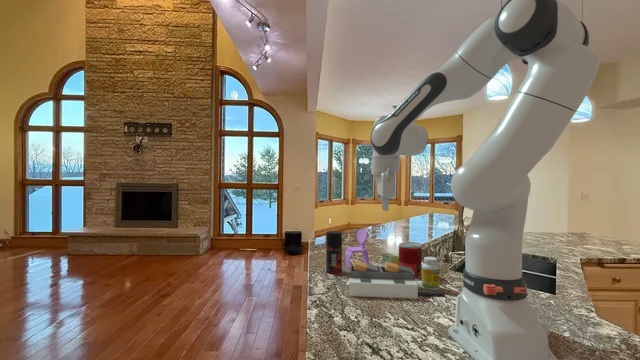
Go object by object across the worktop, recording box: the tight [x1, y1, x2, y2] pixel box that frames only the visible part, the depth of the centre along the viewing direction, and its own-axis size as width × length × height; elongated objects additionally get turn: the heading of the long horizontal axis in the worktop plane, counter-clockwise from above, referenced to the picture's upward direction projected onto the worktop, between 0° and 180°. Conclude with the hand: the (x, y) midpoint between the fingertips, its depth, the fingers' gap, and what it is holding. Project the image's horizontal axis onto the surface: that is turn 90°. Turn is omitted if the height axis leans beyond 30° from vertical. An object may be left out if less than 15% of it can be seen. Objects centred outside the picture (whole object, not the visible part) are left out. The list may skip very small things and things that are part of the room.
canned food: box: [398, 242, 422, 278], centre depth 115 cm, size 8×8×11 cm
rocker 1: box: [383, 261, 411, 273], centre depth 100 cm, size 5×8×2 cm, turn 84°
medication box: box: [381, 252, 399, 265], centre depth 128 cm, size 12×3×4 cm, turn 26°
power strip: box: [348, 265, 446, 300], centre depth 98 cm, size 12×28×6 cm, turn 84°
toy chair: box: [344, 228, 371, 269], centre depth 125 cm, size 8×9×15 cm
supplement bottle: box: [421, 256, 440, 291], centre depth 101 cm, size 5×5×10 cm
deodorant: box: [325, 230, 343, 275], centre depth 118 cm, size 6×6×15 cm
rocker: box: [353, 260, 379, 272], centre depth 101 cm, size 5×8×2 cm, turn 84°
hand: (385, 210), depth 101 cm, fingers closed
